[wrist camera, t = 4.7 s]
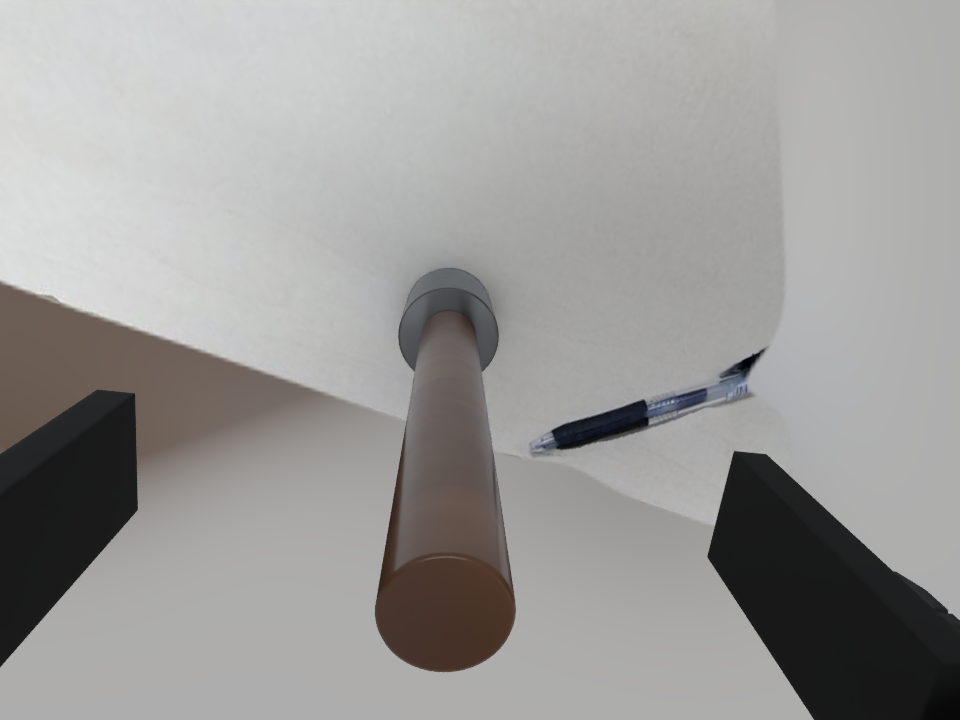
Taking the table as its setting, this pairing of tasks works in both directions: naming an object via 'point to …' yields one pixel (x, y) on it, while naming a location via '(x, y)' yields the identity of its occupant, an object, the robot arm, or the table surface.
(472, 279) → the brown and grey rod
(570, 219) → the table surface
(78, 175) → the table surface
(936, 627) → the robot arm
